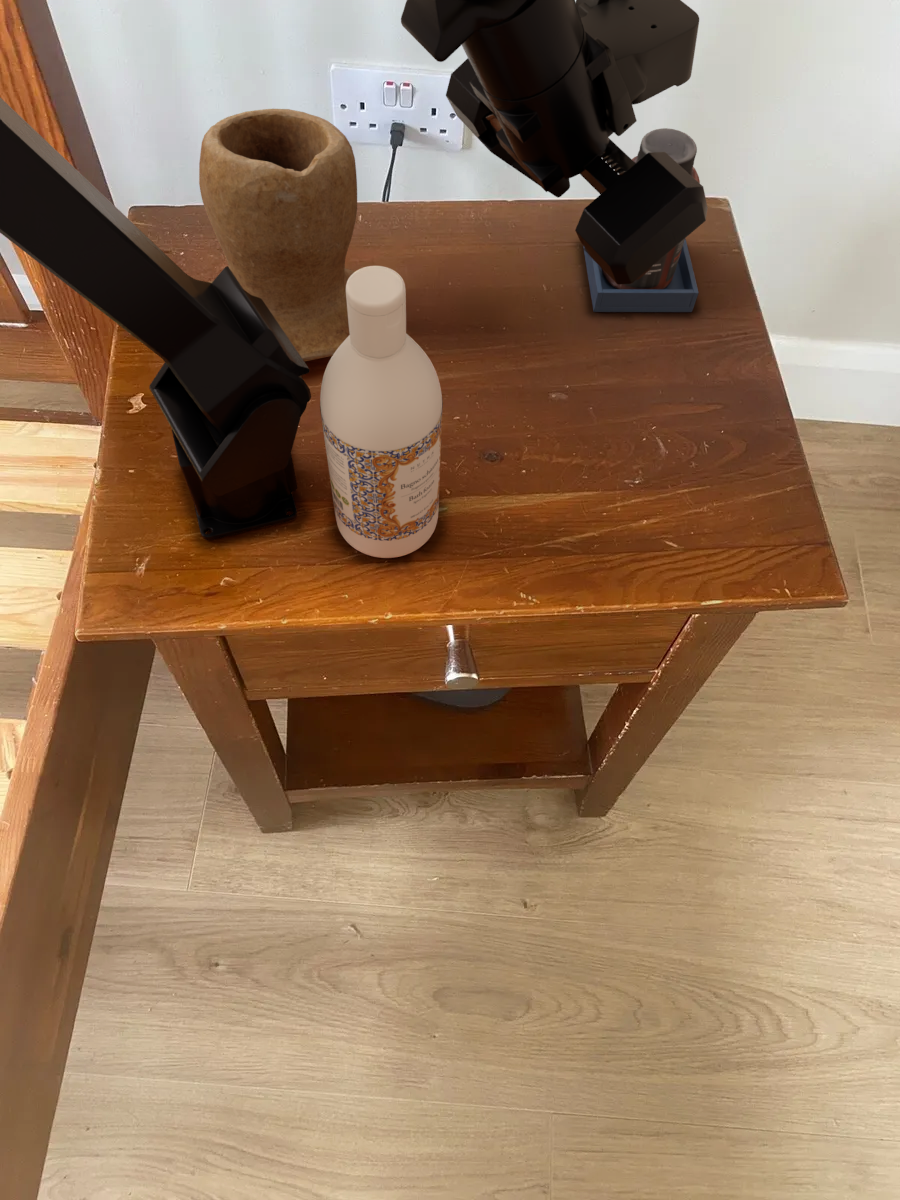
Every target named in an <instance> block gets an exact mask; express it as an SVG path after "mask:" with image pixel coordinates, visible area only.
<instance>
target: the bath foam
mask: <svg viewBox="0 0 900 1200" xmlns="http://www.w3.org/2000/svg"><path fill="white" fill-rule="evenodd" d="M354 271H355V272H354V273H353V274H352V275H351V276H350V277H349V279H348V281H347V284H346V300H347V312H348V323H349V332H350V335H349V336H348V337H347V338H346V339H345V340H344V342H343V343H342V344H341V345H340V346H339V347H338V349H337V350H336V351H335V353H334V354H333V356H330V359H329V360H328V363H327V365H326V368H325V370H324V373H323V376H322V381H321V387H320V396H319V411H320V418H321V424H322V432H323V439H324V446H325V453H326V460H327V467H328V468H327V469H328V475H329V480H330V481H329V482H330V489H331V495H332V496H331V497H332V502H333V508H334V515H335V516H334V517H335V520H336V525H337V528H338V531H339V533H340V535H341V537H343V539H344V540H345V541H346V543H347V544H348V545H350V546H351V547H352V548H354V549H355V550H356V551H358V552H360V553H362V554H364V555H367V556H369V557H370V556H371V557H374V558H381V559H392V558H393V559H394V558H398V557H403V556H406V555H409V554H411V553H413V552H415V551H417V550H419V549H420V548H421V547H422V546H424V545H425V544H426V543H427V542H428V541H429V540H430V538H431V537H432V536H433V533H434V532H435V530H436V527H437V524H438V519H439V505H440V487H441V486H440V485H441V483H440V482H441V463H442V461H441V459H442V454H441V453H442V435H443V432H442V431H443V408H444V407H443V405H444V403H443V396H442V394H443V393H442V389H441V388H442V387H441V384H440V380H439V377H438V376H439V375H438V373H437V371H436V368H435V367H434V364H433V363H432V361H431V359H430V357H429V356H428V355H427V353H426V352H425V351H424V349H423V348H422V347H421V346H420V345H419V344H418V343H417V342H416V341H415V340H414V339H413V338H412V337H411V336H410V335H409V334H408V333H407V295H406V294H407V293H406V292H407V291H406V283H405V280H404V279H403V277H402V276H401V275H400V274H399V273H398V272H397V271H396V270H394V269H392V268H390V267H387V266H383V265H368V266H364V267H360V268H359V269H357V270H354Z"/></svg>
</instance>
